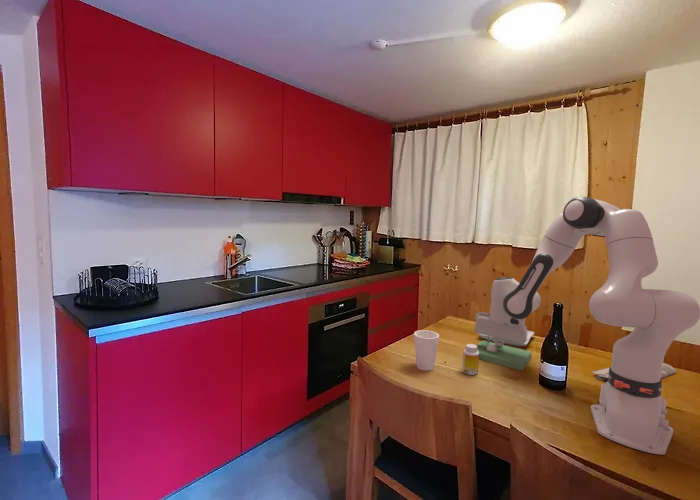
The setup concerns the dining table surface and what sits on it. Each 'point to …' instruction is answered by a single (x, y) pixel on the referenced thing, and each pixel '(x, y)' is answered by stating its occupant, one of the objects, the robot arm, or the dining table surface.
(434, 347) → the foam cup
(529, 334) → the salad plate
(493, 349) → the ball
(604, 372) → the newspaper
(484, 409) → the dining table surface
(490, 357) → the golf putting green
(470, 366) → the supplement bottle
